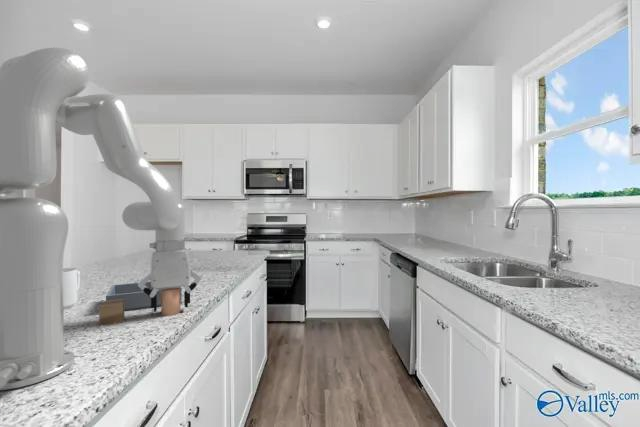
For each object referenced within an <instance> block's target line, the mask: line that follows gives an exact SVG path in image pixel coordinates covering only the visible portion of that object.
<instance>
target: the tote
mask: <svg viewBox="0 0 640 427" xmlns="http://www.w3.org/2000/svg"><path fill="white" fill-rule="evenodd" d="M138 283H139V282H130V283H121V284H112V285H111V286H110V288H109V290H108V292H107V294H106V295H105V301H111V300H119V299H124V312H129V311H130V310H131V311H136V310H143V309H144V310H146V309H152V308H151V297H150V296H149V295H147V294H146V293H145V292H144V291H143V290H142V289H141V288H140V287H139V286H138ZM145 285H146V286H147V287H148V288H149V289H151V290H152V287H151V284H150V280H149V281H148V282H147V283H145ZM182 290H183V289H182V286H180V303H181V305H182V303H183V302H182V300H183V299H182V296H183V294H182V292H183V291H182ZM156 295H157V308H161V289H158V291H157V293H156Z"/></svg>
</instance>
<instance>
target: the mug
mask: <svg viewBox="0 0 640 427" xmlns="http://www.w3.org/2000/svg"><path fill="white" fill-rule="evenodd" d="M80 272H81V271H80V270H78V268H75V267H63V310H66V309H71V308H73V307H74V306H76V304H77V303H78V301H79V293H78V292H79V291H78V290H79V289H80V276H81V275H80V274H81V273H80Z"/></svg>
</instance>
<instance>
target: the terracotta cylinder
mask: <svg viewBox="0 0 640 427" xmlns="http://www.w3.org/2000/svg"><path fill="white" fill-rule="evenodd" d="M181 305H182V304H181V303H180V287H171V288H162V289H161V307H160V315H161V316H164V317H170V316H176V315H178V314H180V313H181Z"/></svg>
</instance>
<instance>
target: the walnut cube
mask: <svg viewBox="0 0 640 427" xmlns="http://www.w3.org/2000/svg"><path fill="white" fill-rule="evenodd" d="M98 308H99V309H98V310H99V311H98V312H99V314H98V317H99V318H98V319H99V324H98V325H99V327H100V326H101V325H102V326H107V325H108V324H109V325H115V324H114V323H116V324H122V323H124V320H125V311H124V299H119V300H111V301H106V300H104V301H101V302H100V305H99V306H98ZM109 325H108V326H109Z"/></svg>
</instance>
